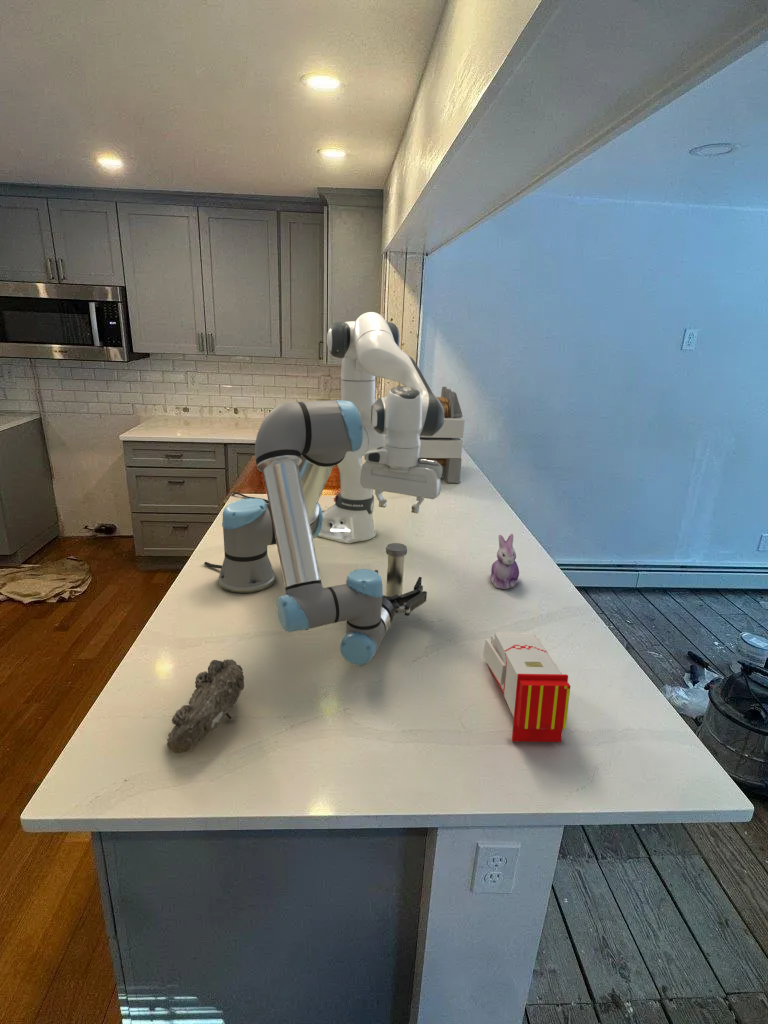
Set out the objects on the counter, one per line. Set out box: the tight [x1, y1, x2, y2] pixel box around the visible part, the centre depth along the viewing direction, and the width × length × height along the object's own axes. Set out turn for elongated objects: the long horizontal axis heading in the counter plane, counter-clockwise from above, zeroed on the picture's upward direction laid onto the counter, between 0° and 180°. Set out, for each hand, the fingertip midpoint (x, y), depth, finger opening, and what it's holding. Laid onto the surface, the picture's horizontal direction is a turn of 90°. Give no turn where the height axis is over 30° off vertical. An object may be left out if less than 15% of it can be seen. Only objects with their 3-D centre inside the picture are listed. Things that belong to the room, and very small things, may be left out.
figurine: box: [490, 533, 520, 590], centre depth 164 cm, size 9×10×15 cm
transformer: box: [396, 384, 465, 484], centre depth 268 cm, size 34×33×41 cm
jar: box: [385, 554, 405, 597], centre depth 148 cm, size 4×4×17 cm
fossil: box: [166, 658, 245, 754], centre depth 106 cm, size 22×10×15 cm
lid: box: [385, 542, 408, 557], centre depth 146 cm, size 5×5×2 cm
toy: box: [482, 632, 571, 743], centre depth 116 cm, size 12×13×30 cm
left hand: (398, 578), depth 153 cm, fingers open, 11 cm apart
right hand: (398, 509), depth 142 cm, fingers open, 7 cm apart
